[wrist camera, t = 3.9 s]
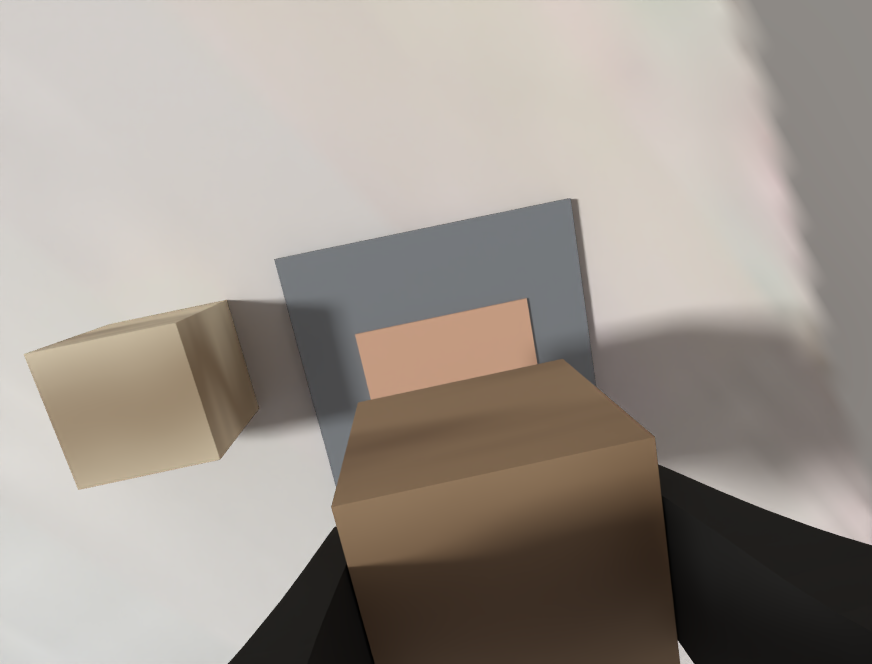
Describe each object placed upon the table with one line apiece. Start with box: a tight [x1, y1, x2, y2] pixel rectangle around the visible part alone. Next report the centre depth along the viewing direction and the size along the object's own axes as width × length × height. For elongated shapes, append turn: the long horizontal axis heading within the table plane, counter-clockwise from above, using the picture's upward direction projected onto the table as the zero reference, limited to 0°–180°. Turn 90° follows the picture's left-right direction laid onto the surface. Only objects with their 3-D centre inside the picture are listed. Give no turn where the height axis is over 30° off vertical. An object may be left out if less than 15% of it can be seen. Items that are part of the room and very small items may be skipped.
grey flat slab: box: [274, 198, 596, 487], centre depth 18 cm, size 12×10×1 cm
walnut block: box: [331, 359, 680, 664], centre depth 10 cm, size 5×5×4 cm
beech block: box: [24, 300, 259, 490], centre depth 15 cm, size 4×4×4 cm
